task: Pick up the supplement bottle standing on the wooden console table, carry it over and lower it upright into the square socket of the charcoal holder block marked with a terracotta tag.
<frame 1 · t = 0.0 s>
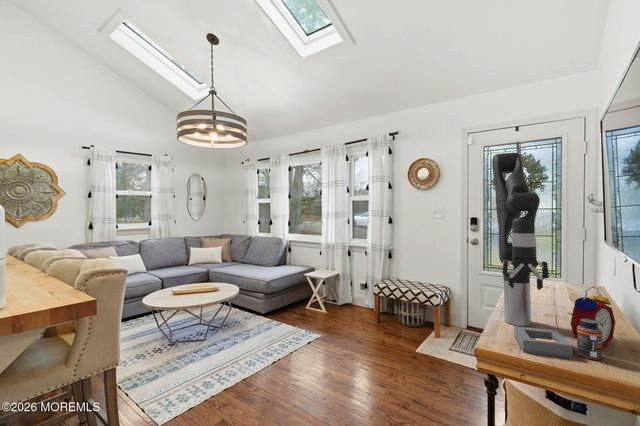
hand: (525, 288, 113), 17 cm above the table, tool pointing down, fingers open, 8 cm apart
socket holder: (541, 346, 102), on the table
alarm clock: (589, 343, 104), on the table
supplement bottle: (589, 357, 95), on the table
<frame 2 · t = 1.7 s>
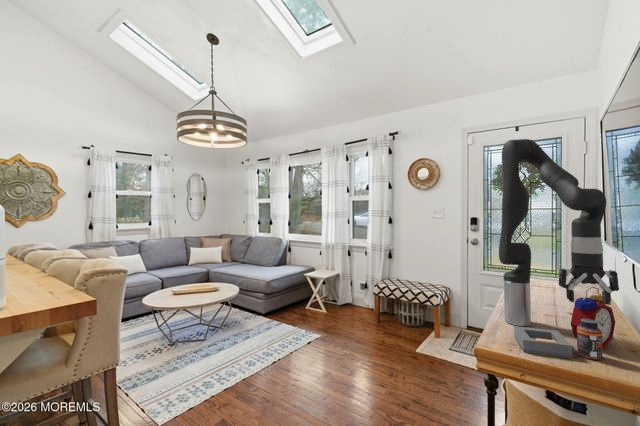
hand: (588, 302, 95), 17 cm above the table, tool pointing down, fingers open, 8 cm apart
nothing on the table moved.
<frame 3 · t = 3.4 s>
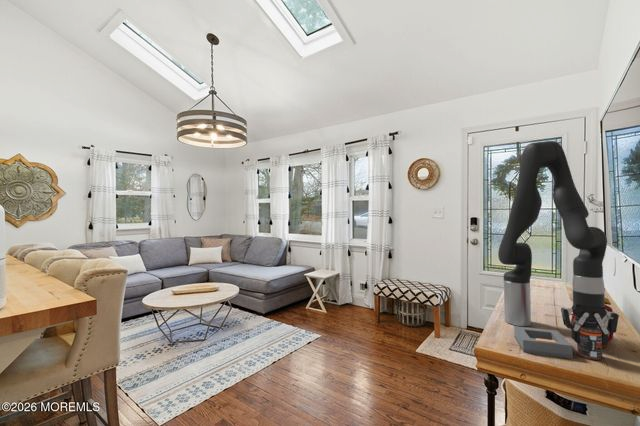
hand: (589, 343, 95), 4 cm above the table, tool pointing down, fingers closed on supplement bottle, 6 cm apart
supplement bottle: (589, 357, 95), on the table, touching gripper
everything else where it was.
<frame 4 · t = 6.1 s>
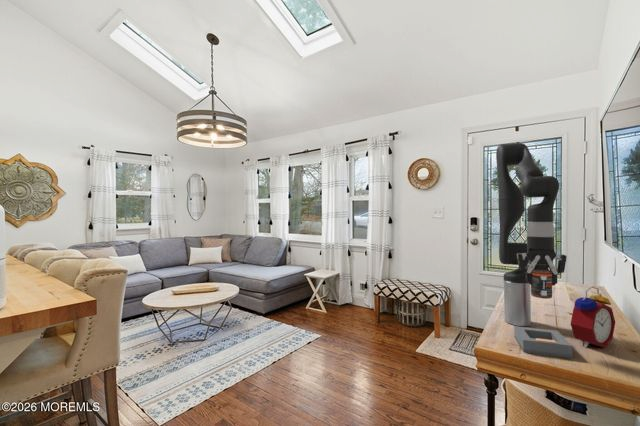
hand: (541, 284, 102), 21 cm above the table, tool pointing down, fingers closed on supplement bottle, 6 cm apart
supplement bottle: (541, 297, 102), point 17 cm above the table, touching gripper
everything else where it was.
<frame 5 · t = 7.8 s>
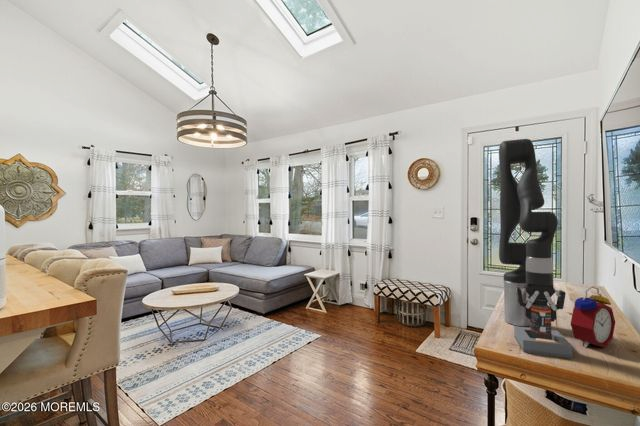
hand: (540, 319, 102), 9 cm above the table, tool pointing down, fingers closed on supplement bottle, 6 cm apart
supplement bottle: (540, 332, 102), point 5 cm above the table, touching gripper
everything else where it was.
when the fingers open (7 cm above the table, at t = 9.2 s): supplement bottle drops 1 cm, resting on socket holder.
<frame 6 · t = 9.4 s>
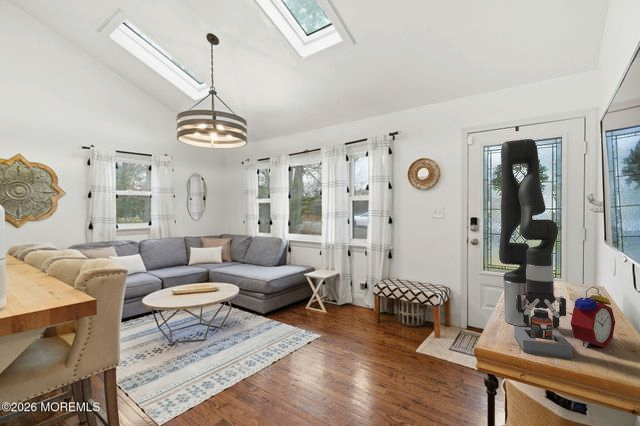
hand: (540, 326, 102), 7 cm above the table, tool pointing down, fingers open, 7 cm apart
supplement bottle: (541, 344, 102), point 1 cm above the table, touching socket holder
everything else where it was.
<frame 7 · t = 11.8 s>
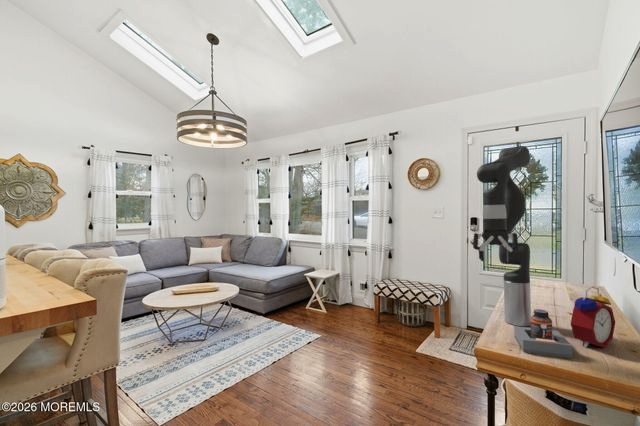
hand: (495, 261, 111), 28 cm above the table, tool pointing down, fingers open, 8 cm apart
nothing on the table moved.
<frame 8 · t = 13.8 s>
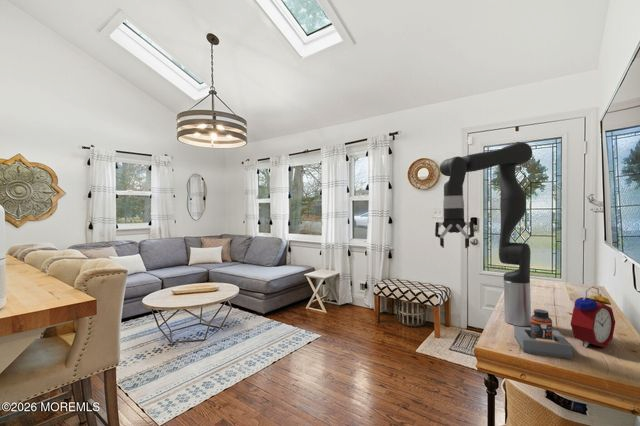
hand: (454, 247, 120), 32 cm above the table, tool pointing down, fingers open, 8 cm apart
nothing on the table moved.
at the end: supplement bottle 0.2 cm off-centre on the socket holder, point 0.8 cm above the socket holder's base; supplement bottle tilted 0°; the gripper is holding nothing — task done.
